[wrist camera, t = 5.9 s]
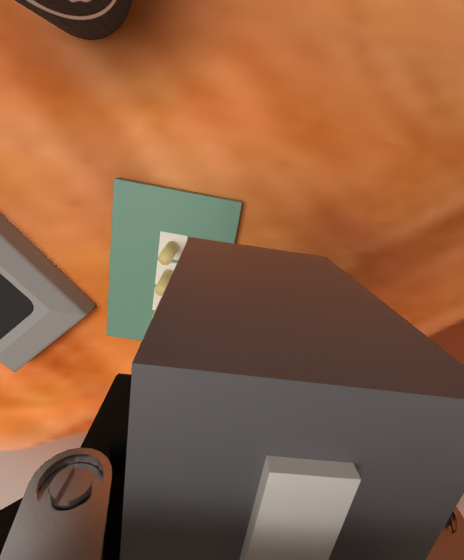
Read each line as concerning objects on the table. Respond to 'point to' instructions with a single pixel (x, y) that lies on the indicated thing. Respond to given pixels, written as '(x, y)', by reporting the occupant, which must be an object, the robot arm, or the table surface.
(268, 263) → the block
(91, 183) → the table surface
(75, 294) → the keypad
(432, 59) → the table surface
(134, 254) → the board
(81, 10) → the coffee cup
